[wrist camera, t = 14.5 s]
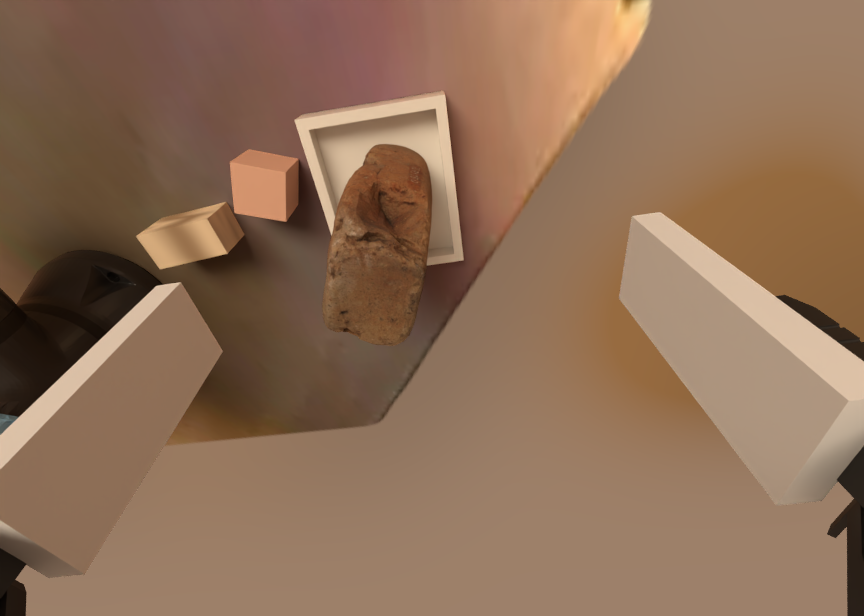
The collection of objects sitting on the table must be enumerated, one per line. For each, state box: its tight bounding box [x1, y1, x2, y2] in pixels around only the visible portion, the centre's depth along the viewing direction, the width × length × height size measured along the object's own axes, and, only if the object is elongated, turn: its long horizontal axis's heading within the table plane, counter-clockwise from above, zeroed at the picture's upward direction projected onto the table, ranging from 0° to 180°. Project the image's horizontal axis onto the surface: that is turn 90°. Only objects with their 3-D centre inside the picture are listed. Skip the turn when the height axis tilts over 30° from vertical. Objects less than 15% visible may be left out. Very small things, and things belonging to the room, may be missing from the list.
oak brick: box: [136, 202, 245, 269], centre depth 43 cm, size 8×4×5 cm, turn 103°
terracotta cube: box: [230, 149, 299, 222], centre depth 40 cm, size 5×5×5 cm
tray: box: [295, 91, 464, 266], centre depth 42 cm, size 14×17×3 cm
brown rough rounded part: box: [322, 144, 432, 346], centre depth 34 cm, size 11×8×20 cm
